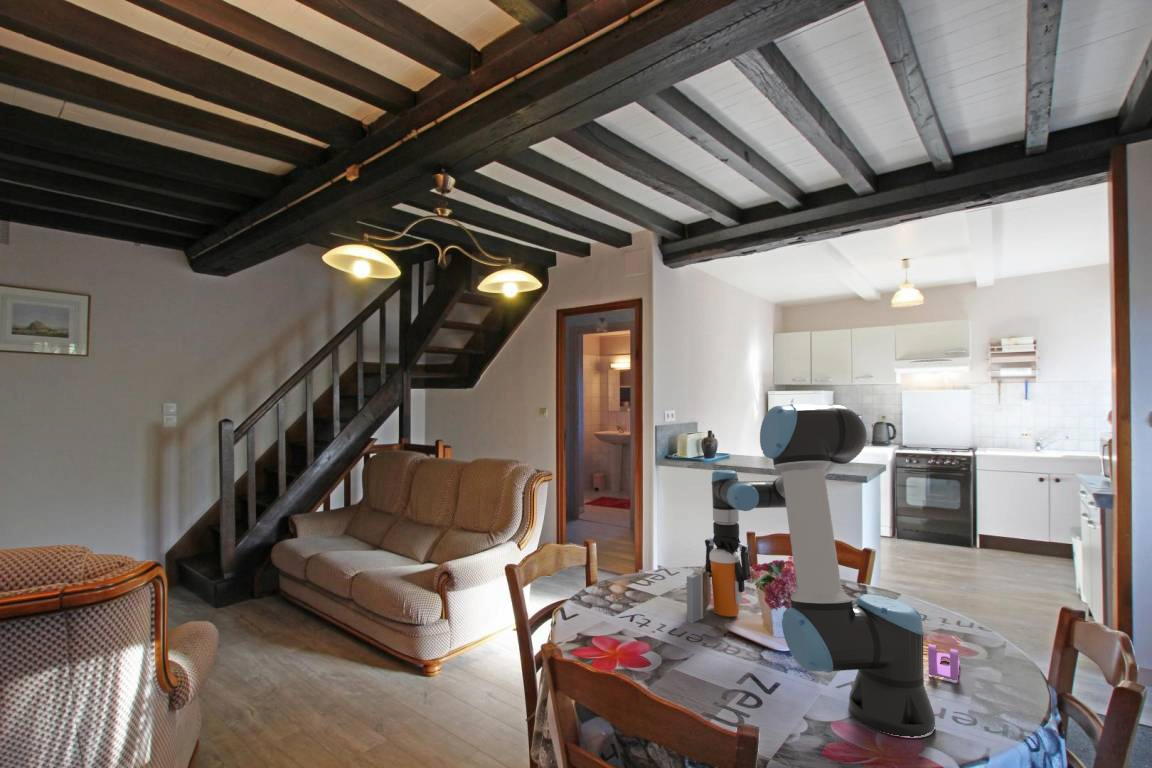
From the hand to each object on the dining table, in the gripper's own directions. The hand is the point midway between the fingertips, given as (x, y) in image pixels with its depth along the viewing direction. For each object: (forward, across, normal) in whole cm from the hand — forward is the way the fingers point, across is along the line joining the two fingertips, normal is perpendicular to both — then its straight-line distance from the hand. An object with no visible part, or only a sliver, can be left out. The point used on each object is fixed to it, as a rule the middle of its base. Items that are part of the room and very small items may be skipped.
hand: (728, 599), depth 162 cm
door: (+4, +7, 0) cm, 8 cm away
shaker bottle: (+4, +1, 0) cm, 4 cm away
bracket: (+6, -53, -7) cm, 54 cm away
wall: (+5, +6, 0) cm, 7 cm away
